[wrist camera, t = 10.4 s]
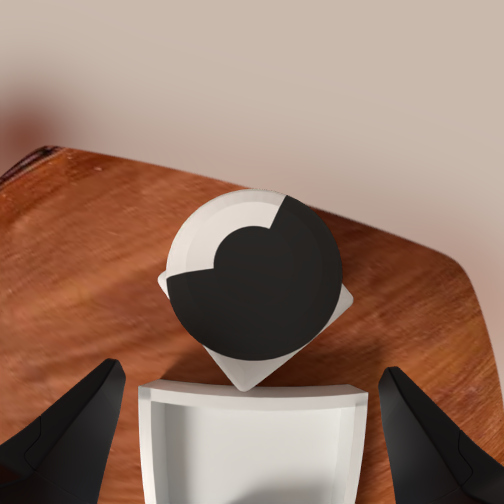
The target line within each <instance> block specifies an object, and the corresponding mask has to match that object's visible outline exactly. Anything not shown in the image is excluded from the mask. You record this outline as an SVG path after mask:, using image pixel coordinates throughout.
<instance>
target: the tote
mask: <svg viewBox="0 0 504 504" xmlns="http://www.w3.org/2000/svg"><path fill="white" fill-rule="evenodd" d="M138 397H139V436H140V453H141V467H142V478H143V487H144V496H145V504H355V499H356V494H357V488H358V482H359V476H360V469H361V463H362V455H363V447H364V438H365V429H366V418H367V405H368V392H366V391H363V390H361V389H359V388H356V387H354V386H352V385H350V384H342V385H327V386H303V387H253V388H251V389H250V390H248V391H246V392H243V391H240V390H239V389H237V387H236V386H229V385H213V384H201V383H190V382H180V381H172V380H163V379H158V380H155V381H152V382H149V383H147V384H144V385H141V386H138Z"/></svg>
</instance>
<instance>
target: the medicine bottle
mask: <svg viewBox="0 0 504 504" xmlns="http://www.w3.org/2000/svg"><path fill="white" fill-rule="evenodd" d="M342 277H343V276H342V262H341V257H340V253H339V250H338V247H337V244H336V241H335V239H334V237H333V235H332V233H331V231H330V230H329V229H328V227H327V226H326V224H325V223H324V222H323V220H322V219H321V218H320V217H319V216H318V215H317V214H316V213H315V212H314V211H313V210H311V209H310V208H309V207H308V206H306V205H305V204H303V203H302V202H300V201H298V200H297V199H294V198H292V197H290V196H288V195H285V194H282V193H279V192H276V191H269V190H263V189H247V190H239V191H234V192H230V193H227V194H224V195H221V196H219V197H216V198H214V199H212V200H210V201H209V202H207V203H206V204H204V205H203V206H201V207H200V208H199V209H197V210H196V211H195V212H194V213H193V214H192V215H191V216H190V217H189V218H188V219H187V220H186V221H185V223H184V224H183V225H182V227H181V228H180V230H179V231H178V233H177V235H176V237H175V239H174V241H173V243H172V245H171V249H170V252H169V255H168V260H167V266H166V271H164V272H163V273H162V274H160V276H159V277H158V282H159V285H160V286H161V288H162V289H163V291H164V292H165V294H166V295H167V297H168V298H169V299H170V302H171V305H172V307H173V310H174V312H175V314H176V316H177V317H178V319H179V321H180V322H181V324H182V325H183V326H184V328H185V329H186V330H187V331H188V332H189V334H190V335H191V336H193V337H194V338H195V339H196V340H197V341H198V342H199V343H201V344H202V345H203V346H204V347H205V349H206V350H207V351H208V353H209V354H210V355H211V357H212V358H213V359H214V360H215V362H216V363H217V364H218V365H219V367H220V368H221V369H222V370H223V372H224V373H225V374H226V375H227V377H228V378H229V379H230V380H231V381H232V383H233V384H234V385H235V386H236V387H237V389H239V390H240V391H243V392H246V391H248V390H250V389H251V388H253V387H254V386H255V385H257V384H258V383H259V382H261V381H262V380H263V379H265V378H266V377H267V376H268V375H270V374H271V373H272V372H274V371H275V370H276V369H277V368H279V367H280V366H281V365H283V364H284V363H285V362H286V361H288V360H289V359H290V358H291V357H292V356H294V355H295V354H296V353H297V352H299V351H300V350H301V349H302V348H303V347H305V346H306V345H307V344H308V343H309V342H311V341H312V340H313V339H314V338H315V337H316V336H318V335H319V334H320V333H321V332H322V331H323V330H324V329H326V328H327V327H328V326H329V325H330V324H331V323H332V322H333V321H335V320H336V319H337V318H338V317H339V316H340V315H341V314H342V313H343V312H344V311H345V310H347V309H348V308H349V307H350V306H351V304H352V303H353V297H352V295H351V294H350V292H349V291H348V290H347V289H346V288H345V286H344V285H343V284H342Z"/></svg>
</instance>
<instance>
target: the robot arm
mask: <svg viewBox="0 0 504 504" xmlns="http://www.w3.org/2000/svg"><path fill="white" fill-rule="evenodd" d="M125 381H126V376H125V373H124V370H123V368H122V366H121V364H120V362H119V361H118V360H117V359H111V358H108V359H106V360H104V361H103V362H102V363H101V364H100V365H99V366H97V367H96V368H95V369H94V370H93V371H91V372H90V373H89V374H88V375H87V376H86V377H84V378H83V379H82V380H81V381H80V382H78V383H77V384H76V385H75V386H74V387H73V388H71V389H70V390H69V391H68V392H67V393H66V394H64V395H63V396H62V397H61V398H60V399H59V400H57V401H56V402H55V403H54V404H53V405H51V406H50V407H49V408H48V409H47V410H46V411H45V412H43V413H42V414H41V416H39V417H37V418H36V419H35V420H34V421H33V422H32V423H30V424H29V425H28V426H27V427H25V428H24V429H23V430H21V431H20V432H19V433H17V434H16V435H14V436H13V437H12V438H10V439H9V440H7V441H6V442H4V443H3V444H1V445H0V504H97V502H98V497H99V492H100V488H101V483H102V479H103V475H104V471H105V467H106V463H107V459H108V455H109V451H110V447H111V443H112V440H113V436H114V432H115V429H116V425H117V422H118V418H119V413H120V408H121V402H122V397H123V391H124V386H125ZM378 389H379V397H380V407H381V417H382V425H383V431H384V436H385V441H386V446H387V451H388V456H389V462H390V467H391V473H392V479H393V486H394V493H395V500H396V504H504V467H503V466H502V465H501V464H500V463H498V462H497V461H496V460H495V459H493V458H492V457H491V456H490V455H488V454H487V453H486V452H485V451H484V450H482V449H481V448H480V447H479V446H478V445H477V444H475V443H474V442H473V441H472V440H471V439H470V438H469V437H468V436H467V435H466V434H465V433H464V432H463V431H462V430H460V428H459V427H458V426H457V425H456V424H455V423H454V422H453V421H452V420H451V419H450V418H449V417H448V416H447V415H446V414H445V413H444V412H443V411H442V410H441V409H440V408H439V407H438V406H437V405H436V404H435V403H434V402H433V401H432V400H431V399H430V398H429V397H428V396H427V395H426V394H425V393H424V392H423V391H422V390H421V389H420V388H419V387H418V386H417V385H416V384H415V383H414V382H413V381H412V380H411V379H410V378H409V377H408V376H407V375H406V374H405V373H404V372H403V371H402V370H401V369H400V368H399V367H397V366H394V367H387V368H386V369H385V371H384V373H383V375H382V377H381V379H380V381H379V384H378Z"/></svg>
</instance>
